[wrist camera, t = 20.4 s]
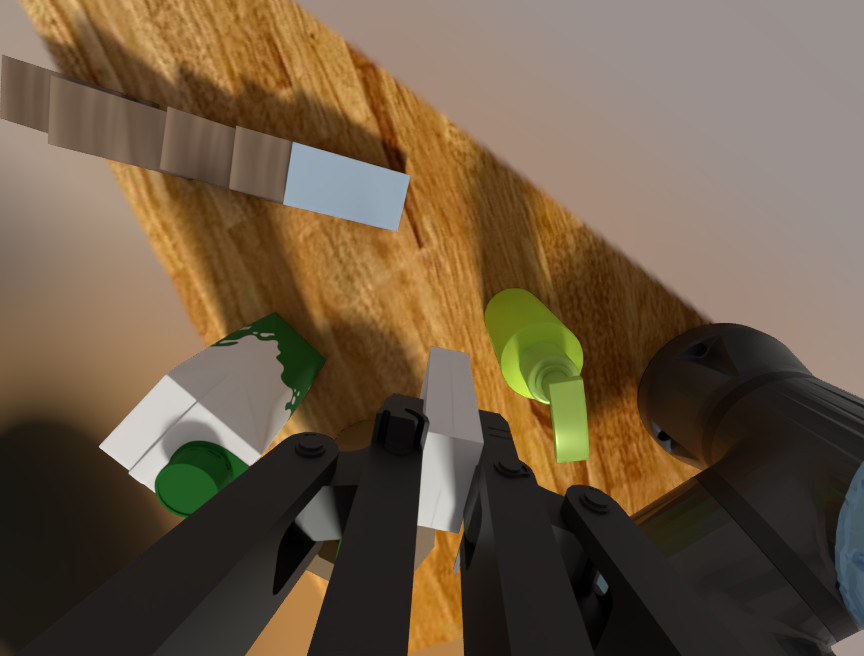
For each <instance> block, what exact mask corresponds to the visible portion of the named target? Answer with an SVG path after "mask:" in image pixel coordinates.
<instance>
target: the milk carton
mask: <svg viewBox="0 0 864 656" xmlns="http://www.w3.org/2000/svg"><path fill="white" fill-rule="evenodd" d="M325 361H326V359H325V358H324V357H323V356H322V355H321V354H320V353H319V352H317V351H316V350H315V349H314V348H313V347H312V346H311V345H310V344H309V343H308V342H307V341H306V340H305V339H303V338H302V337H301V336H300V335H299V334H298V333H297V332H296V331H295V330H294V329H293V328H292V327H291V326H290V325H288V324H287V323H286V322H285V321H284V320H283V319H282V318H281V317H280V316H279V315H278V314H277V313H276V312H275V313H273V314H271V315H269V316H267V317H264V318H262V319H260V320H258V321H256V322H254V323H252V324H250V325H248V326H246V327H243V328H241V329H239V330H237V331H235V332H233V333H231V334H230V335H228V336H226V337H225V338H223V339H221V340H220V341H218V342H216V343H215V344H213V345H211V346H210V347H208V348H206V349H205V350H203V351H201V352H200V353H198V354H196V355H195V356H193V357H191V358H190V359H188V360H186V361H185V362H183V363H181V364H180V365H178V366H177V367H175V368H174V369H173V370H171V371H170V372H169V373H167V374H166V375H165V376H164V377H163V378H162V379H161V380H160V381H159V382H158V384H156V385H155V387H154V388H153V389H152V390H151V391H150V392H149V393H148V394H147V395H146V396H145V397H144V398H143V399H142V400H141V402H140V403H139V404H138V405H137V406H136V407H135V408H134V409H133V410H132V411H131V412H130V413H129V414H128V416H127V417H126V418H125V419H124V420H123V421H122V422H121V423H120V424H119V425H118V426H117V427H116V428H115V430H114V431H113V432H112V433H111V434H110V435H109V436H108V437H107V438H106V439H105V440H104V441H103V442H102V444H101V445H100V446H99V447H100V448H101V449H102V450H103V451H105V452H106V453H107V454H109V455H110V456H111V457H113V458H114V459H115V460H116V461H118V462H119V463H120V464H122V465H123V466H124V467H125V468H127V469H128V470H129V471H130V472H129V474H130V475H131V476H132V477H134V478H135V479H136V480H138V481H139V482H140V483H142V484H144V485H146V486H147V487H148V488H150V489H151V490H153V491H154V492H155V493H156V496H157V498H158V500H159V501H160V503H161V504H162V505H163V506H164V507H165V508H166V509H167V510H169V511H170V512H172V513H174V514H176V515H178V516H181V517H185V518H187V517H188V516H189V515H191V514H192V513H193V512H194V511H196V510H197V509H198V508H199V507H201V506H202V505H203V504H204V503H206V502H207V501H208V500H209V499H211V498H212V497H213V496H214V495H216V494H217V493H218V492H219V491H221V490H222V489H223V488H224V487H226V486H227V485H228V484H229V483H231V482H232V481H233V480H234V479H236V478H237V477H238V476H239V475H241V474H242V473H243V472H244V471H246V470H247V469H248V468H249V467H251V466H252V464H253V463H254V462H255V461H256V460H257V459H258V458H259V457H261V456H262V454H263V453H264V452H265V450H266V449H267V448H268V447H269V446H270V444H271V443H272V442H273V440H274V439H275V438H276V436H277V435H278V433H279V432H280V431H281V429H282V428H283V426H284V425H285V424H286V422H287V421H288V420H289V418H290V417H291V415H292V414H293V413H294V411H295V410H296V408H297V407H298V406H299V404H300V403H301V402H302V400H303V399H304V397H305V396H306V394H307V392H308V391H309V389H310V387H311V385H312V384H313V382H314V380H315V378H316V377H317V375H318V373H319V371H320V370H321V368H322V366H323V364H324V363H325Z"/></svg>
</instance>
